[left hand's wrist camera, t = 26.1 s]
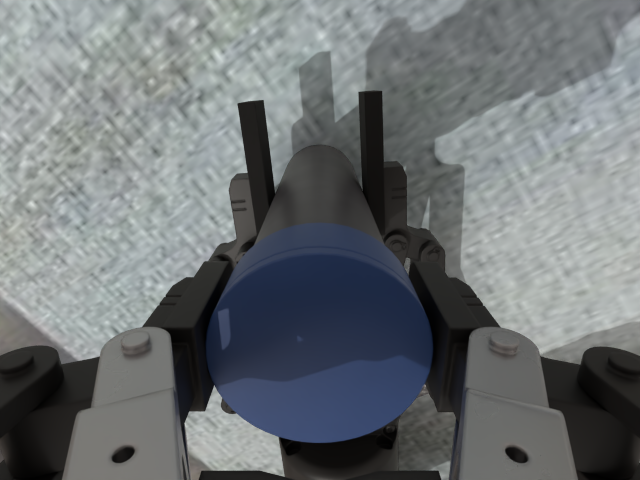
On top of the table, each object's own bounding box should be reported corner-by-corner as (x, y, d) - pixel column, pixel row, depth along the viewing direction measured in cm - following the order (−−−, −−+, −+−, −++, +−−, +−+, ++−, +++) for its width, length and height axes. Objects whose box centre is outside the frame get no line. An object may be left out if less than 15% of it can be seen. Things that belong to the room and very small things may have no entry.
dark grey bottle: (366, 162, 26) (449, 292, 9) (337, 224, 27) (363, 430, 11) (300, 132, 25) (263, 218, 9) (274, 198, 27) (200, 375, 10)
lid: (449, 327, 11) (475, 377, 9) (302, 413, 12) (298, 473, 10) (341, 180, 10) (346, 203, 8) (185, 294, 11) (156, 338, 9)
